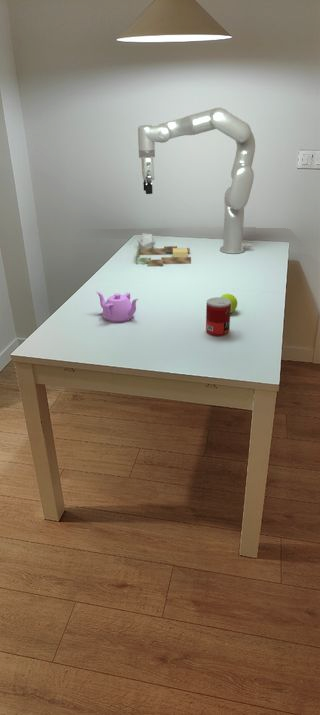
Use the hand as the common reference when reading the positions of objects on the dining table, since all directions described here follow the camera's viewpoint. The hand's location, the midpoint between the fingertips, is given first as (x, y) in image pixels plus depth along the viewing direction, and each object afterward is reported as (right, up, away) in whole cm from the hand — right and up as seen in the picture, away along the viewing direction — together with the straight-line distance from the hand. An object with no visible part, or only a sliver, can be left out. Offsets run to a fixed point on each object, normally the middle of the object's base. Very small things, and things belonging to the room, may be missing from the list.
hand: (148, 192), depth 248 cm
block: (+16, -32, +3) cm, 36 cm away
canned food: (+25, -71, -73) cm, 105 cm away
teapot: (-9, -65, -60) cm, 89 cm away
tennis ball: (+31, -63, -58) cm, 91 cm away
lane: (+8, -32, +3) cm, 33 cm away
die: (-1, -24, +19) cm, 31 cm away
